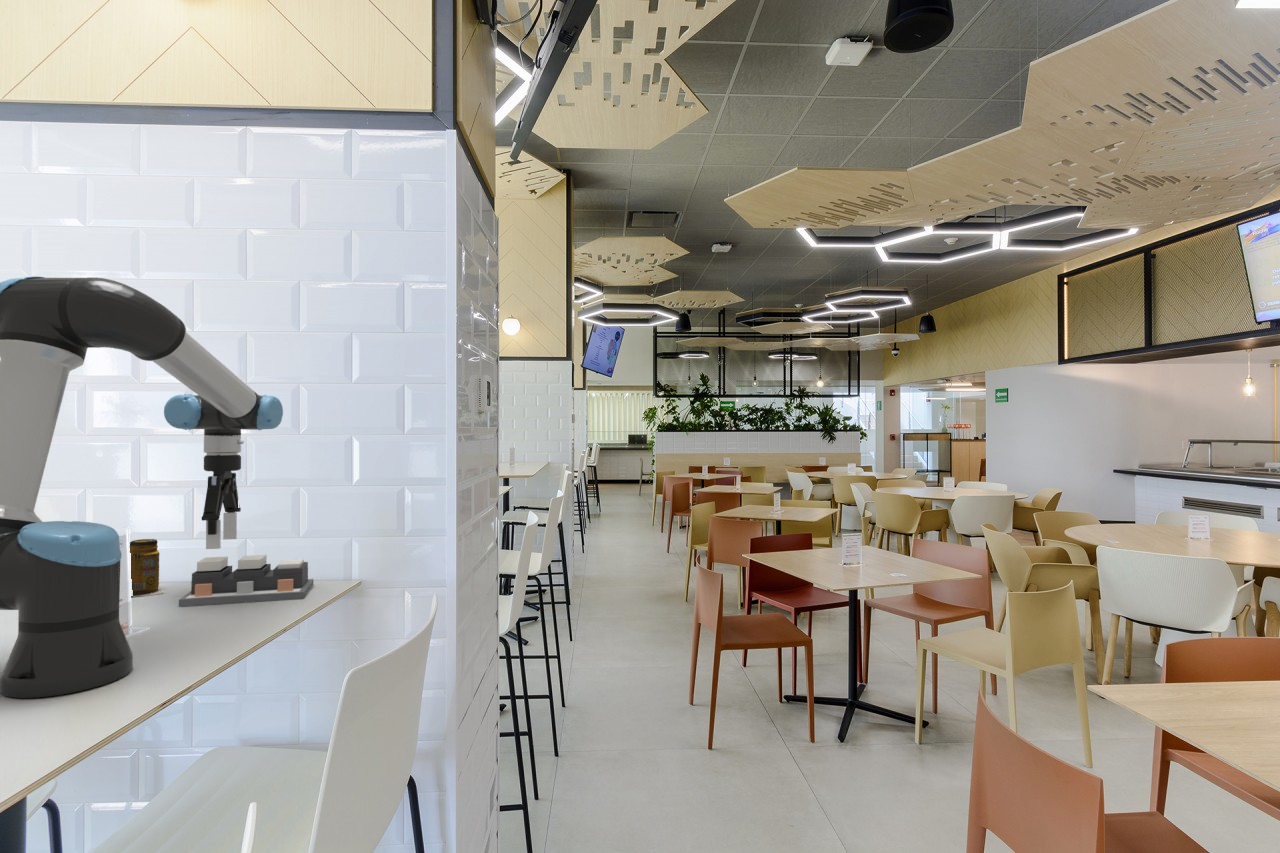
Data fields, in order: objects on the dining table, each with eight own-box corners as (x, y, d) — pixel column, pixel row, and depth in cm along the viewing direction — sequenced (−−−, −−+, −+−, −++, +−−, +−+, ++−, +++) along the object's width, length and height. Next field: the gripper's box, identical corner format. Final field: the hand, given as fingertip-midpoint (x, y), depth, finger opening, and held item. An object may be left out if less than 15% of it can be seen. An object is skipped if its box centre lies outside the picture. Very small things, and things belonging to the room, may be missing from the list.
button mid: (237, 569, 151) (238, 560, 151) (244, 564, 156) (244, 555, 156) (260, 568, 152) (260, 559, 152) (266, 563, 158) (266, 554, 158)
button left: (196, 571, 148) (197, 562, 148) (205, 566, 154) (205, 557, 154) (220, 570, 150) (220, 561, 150) (227, 565, 155) (227, 556, 155)
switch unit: (178, 606, 142) (179, 578, 142) (199, 591, 156) (200, 565, 156) (303, 598, 150) (303, 571, 150) (313, 585, 163) (313, 560, 163)
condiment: (160, 587, 160) (160, 537, 160) (163, 594, 154) (163, 541, 154) (121, 591, 156) (122, 540, 156) (122, 599, 149) (123, 545, 149)
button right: (277, 573, 153) (277, 564, 153) (282, 568, 159) (283, 559, 159) (299, 572, 154) (299, 563, 154) (303, 567, 160) (303, 559, 160)
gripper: (225, 456, 148) (225, 552, 148) (253, 452, 172) (252, 534, 172) (186, 456, 146) (185, 554, 145) (219, 452, 169) (219, 536, 169)
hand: (221, 543), depth 159 cm, fingers open, 13 cm apart
